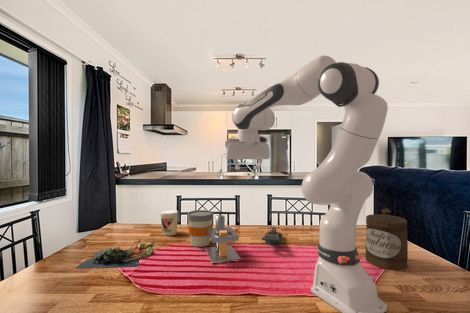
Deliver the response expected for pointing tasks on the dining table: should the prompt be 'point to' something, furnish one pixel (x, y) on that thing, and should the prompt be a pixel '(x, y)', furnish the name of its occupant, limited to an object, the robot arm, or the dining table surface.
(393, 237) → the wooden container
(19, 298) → the dining table surface
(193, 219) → the reusable coffee cup
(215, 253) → the grey finned stand
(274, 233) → the zipper pull
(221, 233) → the wedge pin
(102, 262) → the plated dish
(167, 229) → the coffee cup
